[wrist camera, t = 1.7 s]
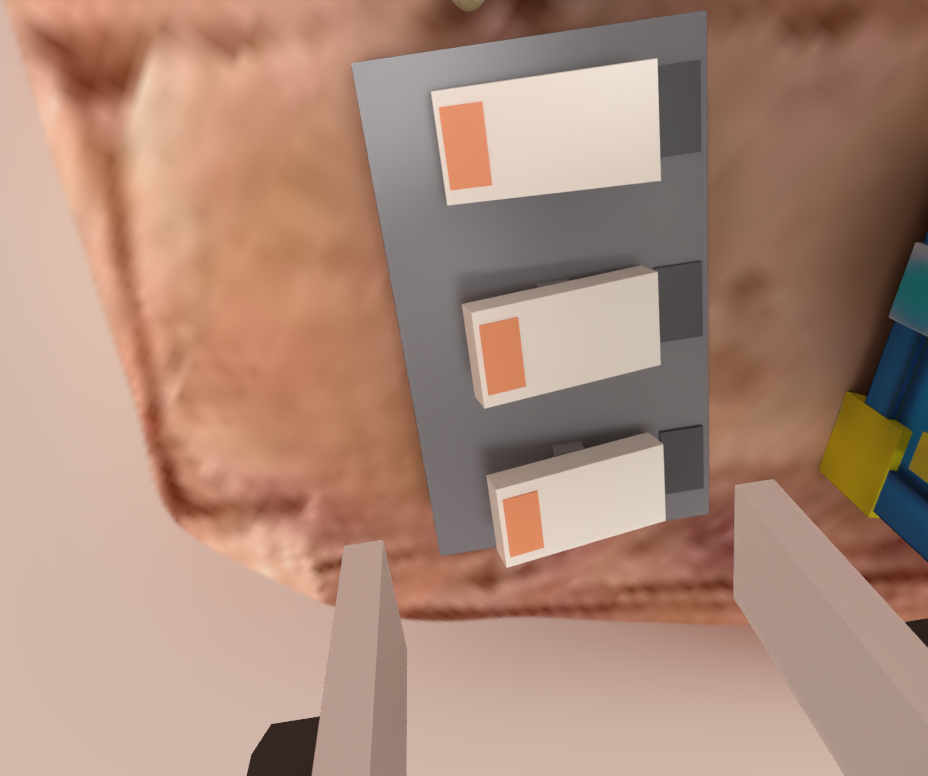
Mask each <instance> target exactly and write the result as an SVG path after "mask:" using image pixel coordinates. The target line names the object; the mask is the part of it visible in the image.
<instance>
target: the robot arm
mask: <svg viewBox="0 0 928 776" xmlns="http://www.w3.org/2000/svg"><path fill="white" fill-rule="evenodd" d="M733 598H734V599H735V601H736V603H737V604H738V606H739V607H740V609H741V611H742V612H743V614H744V615H745V617H746V619H747V620H748V622H749V623H750V625H751V627H752V628H753V630H754V631H755V633H756V634H757V636H758V638H759V639H760V641H761V642H762V644H763V646H764V647H765V649H766V650H767V652H768V654H769V655H770V657H771V658H772V660H773V662H774V663H775V665H776V666H777V668H778V670H779V671H780V673H781V674H782V676H783V678H784V679H785V681H786V682H787V684H788V685H789V687H790V689H791V690H792V692H793V694H794V695H795V697H796V698H797V700H798V702H799V703H800V705H801V706H802V708H803V709H804V711H805V713H806V714H807V716H808V718H809V719H810V721H811V722H812V724H813V725H814V727H815V729H816V730H817V732H818V734H819V735H820V737H821V738H822V740H823V741H824V743H825V745H826V746H827V748H828V749H829V751H830V753H831V754H832V756H833V757H834V759H835V761H836V762H837V764H838V765H839V767H840V769H841V770H842V772H843V773H844V775H845V776H928V618H927V619H921V620H915V621H908V622H904V621H903V620H902V619H901V618H900V617H899V616H898V615H897V614H896V612H895V611H894V610H893V609H892V608H891V607H890V606H889V605H888V604H887V603H886V601H885V600H884V599H883V598H882V597H881V596H880V595H879V594H878V593H877V592H876V591H875V589H874V588H873V587H872V586H871V585H870V584H869V583H868V582H867V581H866V580H865V578H864V577H863V576H862V575H861V574H860V573H859V572H858V571H857V570H856V569H855V568H854V566H853V565H852V564H851V563H850V562H849V561H848V560H847V559H846V558H845V557H844V556H843V554H842V553H841V552H840V551H839V550H838V549H837V548H836V547H835V546H834V545H833V543H832V542H831V541H830V540H829V539H828V538H827V537H826V536H825V535H824V534H823V533H822V531H821V530H820V529H819V528H818V527H817V526H816V525H815V524H814V523H813V522H812V520H811V519H810V518H809V517H808V516H807V515H806V514H805V513H804V512H803V511H802V510H801V508H800V507H799V506H798V505H797V504H796V503H795V502H794V501H793V500H792V499H791V497H790V496H789V495H788V494H787V493H786V492H785V491H784V490H783V489H782V488H781V487H780V485H779V484H778V483H777V482H776V481H775V480H774V479H771V480H764V481H758V482H751V483H745V484H739V485H735V516H734V597H733ZM406 718H407V648H406V643H405V638H404V634H403V629H402V624H401V620H400V615H399V611H398V606H397V601H396V597H395V592H394V587H393V583H392V578H391V574H390V569H389V564H388V560H387V555H386V551H385V546H384V541H383V540H379V541H372V542H366V543H360V544H353V545H347V546H344V549H343V556H342V564H341V571H340V578H339V585H338V592H337V599H336V606H335V613H334V620H333V628H332V635H331V642H330V649H329V657H328V663H327V670H326V677H325V685H324V692H323V699H322V706H321V713H320V717H314V718H308V719H301V720H295V721H288V722H282V723H276V724H271V726H270V727H269V729H268V730H267V732H266V733H265V735H264V736H263V738H262V740H261V741H260V742H259V744H258V746H257V747H256V749H255V750H254V752H253V753H252V755H251V759H250V764H249V768H248V773H247V776H406V737H407V734H406V732H407V725H406V724H407V719H406Z"/></svg>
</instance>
